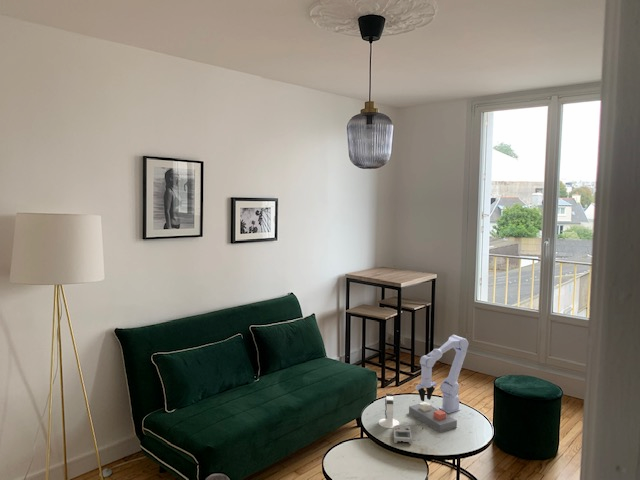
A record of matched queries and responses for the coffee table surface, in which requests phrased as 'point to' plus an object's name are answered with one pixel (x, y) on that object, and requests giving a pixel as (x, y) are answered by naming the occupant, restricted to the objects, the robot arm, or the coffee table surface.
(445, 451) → the coffee table surface
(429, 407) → the plug
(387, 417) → the white post stand
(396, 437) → the handheld gaming device
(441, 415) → the red plug
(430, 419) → the console
